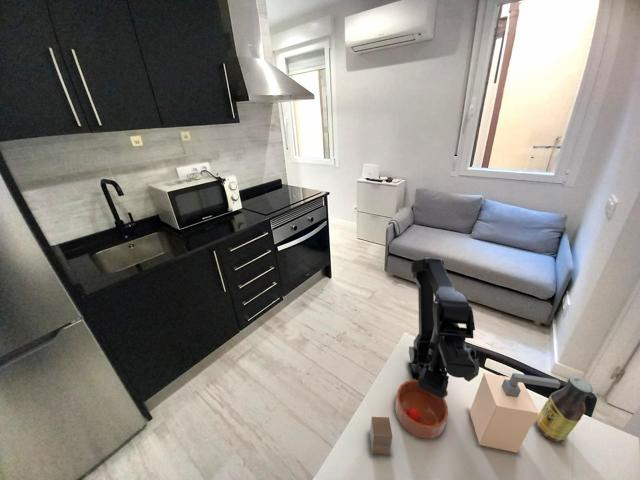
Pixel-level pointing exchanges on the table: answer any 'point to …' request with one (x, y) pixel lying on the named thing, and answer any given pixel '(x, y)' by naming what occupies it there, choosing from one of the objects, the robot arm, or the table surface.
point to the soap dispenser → (505, 409)
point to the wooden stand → (380, 435)
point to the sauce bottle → (564, 409)
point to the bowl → (421, 410)
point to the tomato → (413, 414)
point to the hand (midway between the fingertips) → (433, 382)
